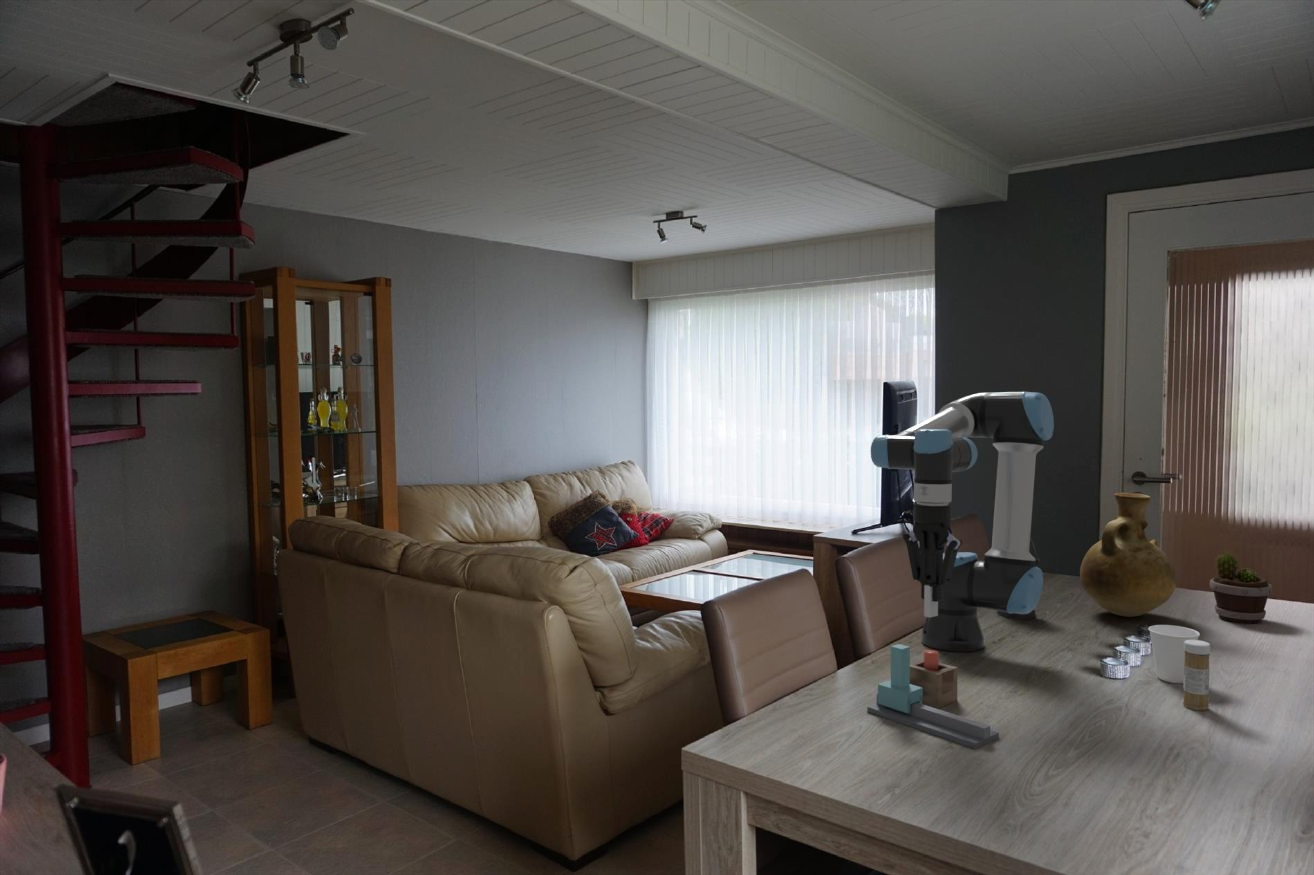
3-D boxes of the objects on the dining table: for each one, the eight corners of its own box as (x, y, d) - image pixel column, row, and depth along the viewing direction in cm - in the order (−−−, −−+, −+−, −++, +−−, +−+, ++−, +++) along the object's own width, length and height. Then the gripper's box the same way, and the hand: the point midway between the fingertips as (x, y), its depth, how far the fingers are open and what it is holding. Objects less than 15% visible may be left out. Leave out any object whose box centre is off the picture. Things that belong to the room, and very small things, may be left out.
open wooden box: (904, 697, 184) (904, 665, 183) (924, 690, 188) (924, 658, 188) (937, 708, 177) (938, 674, 177) (957, 700, 182) (957, 667, 181)
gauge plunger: (920, 672, 183) (920, 651, 182) (929, 669, 185) (929, 649, 184) (933, 676, 180) (933, 655, 180) (941, 673, 182) (941, 652, 182)
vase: (1139, 631, 233) (1142, 501, 231) (1060, 611, 254) (1062, 492, 252) (1193, 620, 244) (1196, 495, 242) (1113, 602, 265) (1115, 487, 263)
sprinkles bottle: (1191, 702, 180) (1193, 637, 179) (1213, 709, 176) (1215, 643, 175) (1177, 705, 178) (1179, 640, 177) (1199, 712, 174) (1201, 646, 173)
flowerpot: (1269, 616, 247) (1271, 546, 245) (1272, 629, 234) (1274, 555, 233) (1208, 610, 254) (1210, 542, 253) (1208, 622, 241) (1210, 550, 240)
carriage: (877, 703, 176) (878, 645, 175) (893, 698, 179) (893, 640, 178) (907, 713, 170) (907, 653, 170) (922, 707, 173) (922, 648, 173)
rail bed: (867, 711, 176) (867, 697, 176) (891, 702, 181) (891, 688, 181) (975, 748, 157) (975, 732, 157) (998, 737, 162) (999, 722, 162)
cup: (1206, 688, 188) (1207, 638, 188) (1156, 685, 190) (1157, 635, 190) (1188, 673, 198) (1189, 625, 197) (1140, 671, 200) (1141, 623, 199)
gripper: (895, 501, 183) (893, 612, 184) (949, 507, 173) (948, 625, 174) (916, 499, 188) (914, 607, 189) (970, 504, 178) (969, 619, 179)
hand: (930, 615), depth 182 cm, fingers closed
